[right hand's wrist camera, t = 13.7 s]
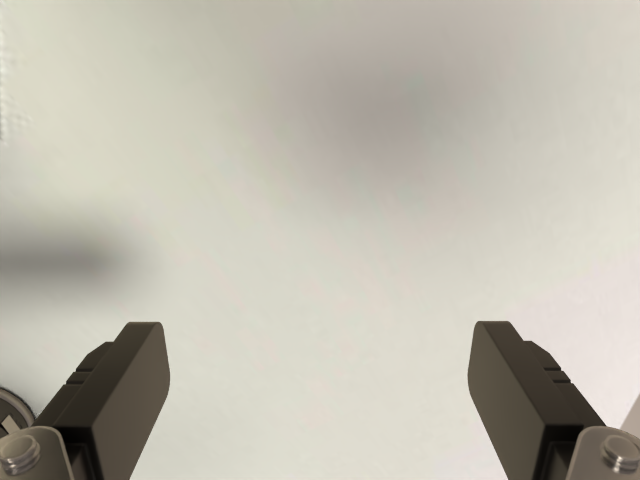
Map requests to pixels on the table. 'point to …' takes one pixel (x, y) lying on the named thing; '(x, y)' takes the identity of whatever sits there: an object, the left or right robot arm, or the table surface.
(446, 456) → the table surface
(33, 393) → the table surface
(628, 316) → the table surface
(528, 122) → the table surface
